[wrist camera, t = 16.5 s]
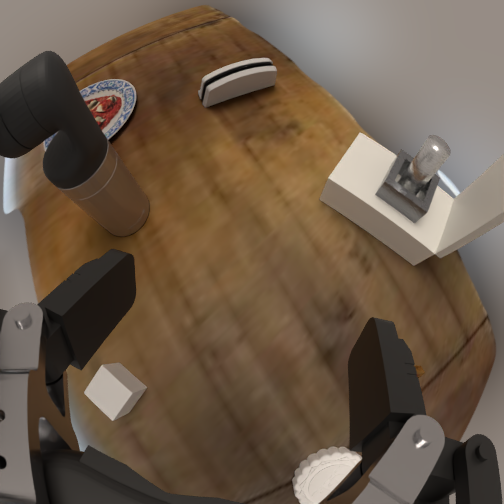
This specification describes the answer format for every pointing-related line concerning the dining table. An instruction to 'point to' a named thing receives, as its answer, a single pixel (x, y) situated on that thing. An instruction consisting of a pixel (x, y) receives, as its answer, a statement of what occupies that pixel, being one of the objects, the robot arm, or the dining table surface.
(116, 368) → the grey cube
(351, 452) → the mooncake
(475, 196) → the white fixture base
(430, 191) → the socket
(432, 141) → the rod
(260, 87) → the white rounded block
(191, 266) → the dining table surface
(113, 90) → the ceramic plate
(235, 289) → the dining table surface
